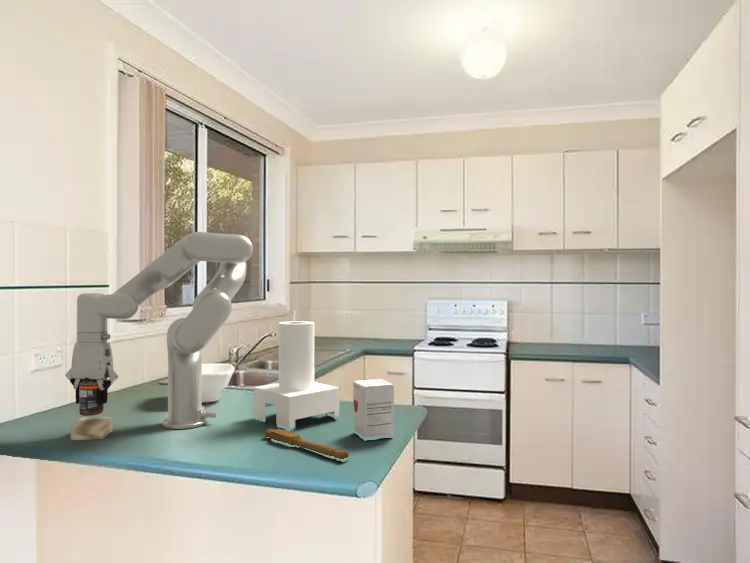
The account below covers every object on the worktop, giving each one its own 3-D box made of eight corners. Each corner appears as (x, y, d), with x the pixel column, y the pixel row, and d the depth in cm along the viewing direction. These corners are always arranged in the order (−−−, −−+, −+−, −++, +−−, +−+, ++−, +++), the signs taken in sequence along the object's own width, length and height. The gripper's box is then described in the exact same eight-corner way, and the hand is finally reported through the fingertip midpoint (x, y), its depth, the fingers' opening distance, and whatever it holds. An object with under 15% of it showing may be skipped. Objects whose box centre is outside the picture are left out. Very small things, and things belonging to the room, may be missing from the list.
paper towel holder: (302, 409, 184) (302, 319, 183) (339, 419, 170) (339, 322, 170) (253, 419, 170) (253, 322, 170) (289, 431, 157) (289, 326, 157)
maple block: (112, 430, 157) (112, 416, 157) (102, 439, 149) (102, 424, 149) (82, 431, 156) (82, 417, 156) (70, 440, 148) (70, 425, 148)
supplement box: (351, 433, 156) (352, 380, 156) (380, 429, 160) (381, 378, 159) (363, 442, 148) (364, 386, 147) (394, 438, 151) (394, 383, 151)
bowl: (164, 410, 181) (164, 375, 181) (172, 396, 203) (172, 364, 202) (233, 407, 186) (233, 372, 186) (234, 393, 208) (234, 362, 208)
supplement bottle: (97, 410, 157) (98, 370, 156) (107, 413, 153) (107, 372, 153) (75, 413, 152) (75, 372, 152) (84, 417, 148) (85, 375, 148)
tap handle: (340, 452, 130) (262, 428, 150) (340, 465, 130) (262, 439, 150) (349, 449, 133) (271, 426, 152) (349, 462, 133) (271, 437, 153)
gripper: (128, 337, 154) (128, 401, 155) (73, 335, 157) (73, 398, 157) (111, 340, 147) (110, 408, 147) (54, 338, 150) (53, 404, 150)
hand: (91, 402), depth 152 cm, fingers closed on supplement bottle, 5 cm apart
